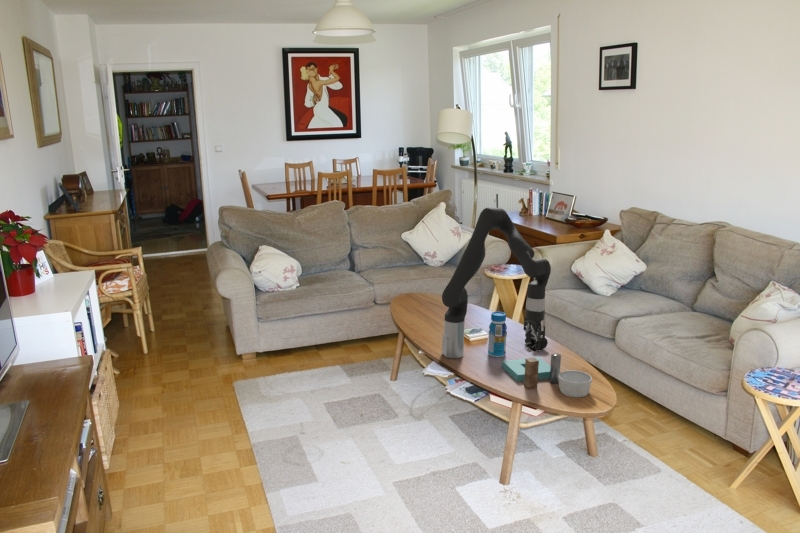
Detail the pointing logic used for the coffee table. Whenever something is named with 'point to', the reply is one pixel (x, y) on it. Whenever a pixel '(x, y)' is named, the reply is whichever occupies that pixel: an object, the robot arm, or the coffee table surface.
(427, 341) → the coffee table surface
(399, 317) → the coffee table surface
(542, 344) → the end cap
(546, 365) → the socket block
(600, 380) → the coffee table surface
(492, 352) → the beverage bottle
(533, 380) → the square peg
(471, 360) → the coffee table surface
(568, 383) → the ramekin
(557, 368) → the round peg
